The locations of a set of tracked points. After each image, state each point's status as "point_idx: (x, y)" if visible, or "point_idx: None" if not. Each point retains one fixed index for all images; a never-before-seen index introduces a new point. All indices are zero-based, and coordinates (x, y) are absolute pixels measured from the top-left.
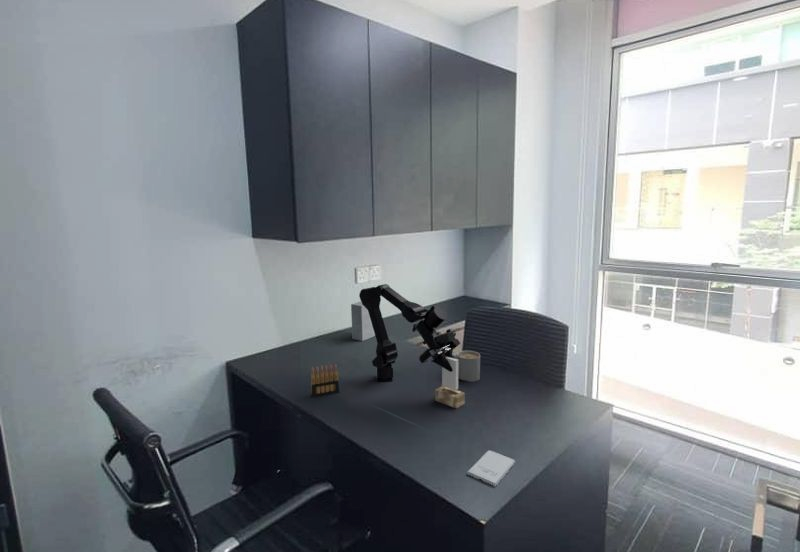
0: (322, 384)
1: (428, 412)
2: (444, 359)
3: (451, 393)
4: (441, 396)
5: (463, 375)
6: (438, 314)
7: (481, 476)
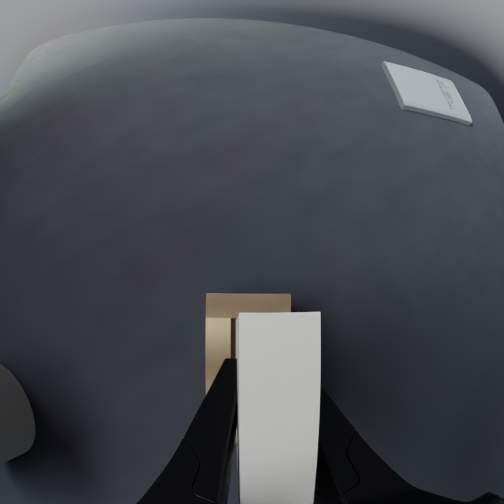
0: None
1: (375, 373)
2: (383, 468)
3: None
4: None
5: (17, 417)
6: None
7: (460, 99)
